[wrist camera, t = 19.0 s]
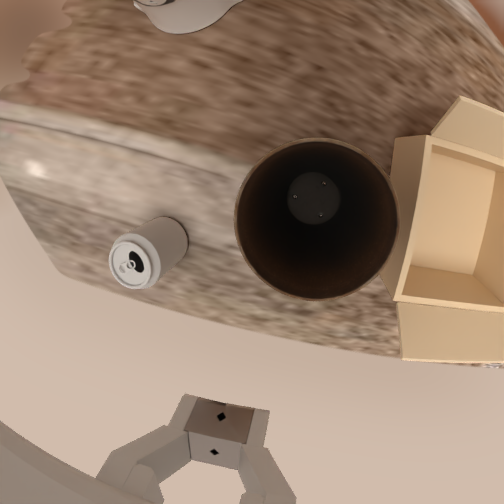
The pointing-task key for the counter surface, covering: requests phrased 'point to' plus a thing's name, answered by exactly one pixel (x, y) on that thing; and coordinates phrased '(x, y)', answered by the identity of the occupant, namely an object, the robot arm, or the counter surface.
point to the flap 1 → (473, 126)
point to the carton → (447, 226)
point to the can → (147, 252)
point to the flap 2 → (449, 334)
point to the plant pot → (317, 219)
